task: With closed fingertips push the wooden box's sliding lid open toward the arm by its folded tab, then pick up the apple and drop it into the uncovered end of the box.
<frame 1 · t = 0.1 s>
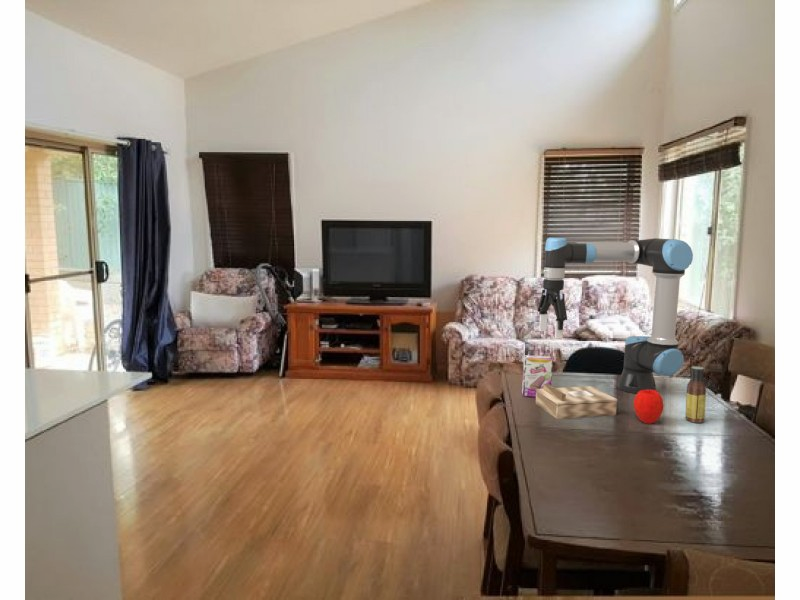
hand: (550, 334, 219), 28 cm above the table, fingers open, 13 cm apart
candy bar box: (536, 396, 234), on the table
sauce bottle: (693, 421, 209), on the table
lid: (575, 391, 218), point 7 cm above the table, slide at 0.0 cm
apple: (647, 422, 207), on the table
wooden box: (574, 409, 219), on the table
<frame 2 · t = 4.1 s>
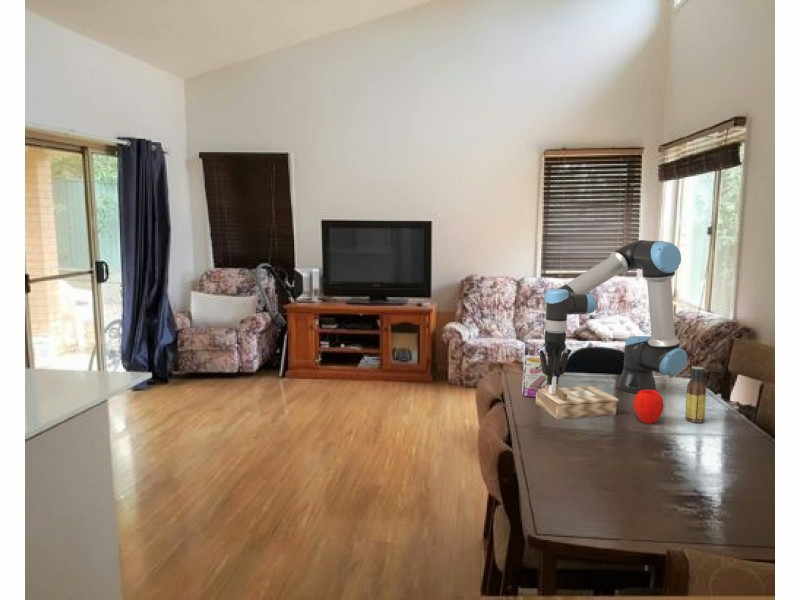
hand: (552, 392, 215), 7 cm above the table, fingers closed
lid: (577, 391, 218), point 7 cm above the table, slide at 0.6 cm, touching gripper
everything else where it was.
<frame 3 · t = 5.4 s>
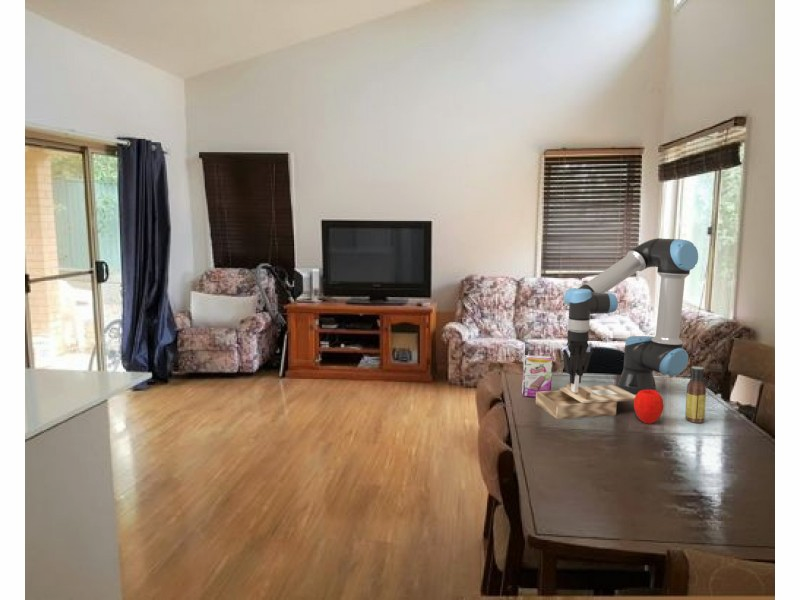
hand: (574, 391, 217), 7 cm above the table, fingers closed
lid: (599, 390, 220), point 7 cm above the table, slide at 10.0 cm, touching gripper
everything else where it was.
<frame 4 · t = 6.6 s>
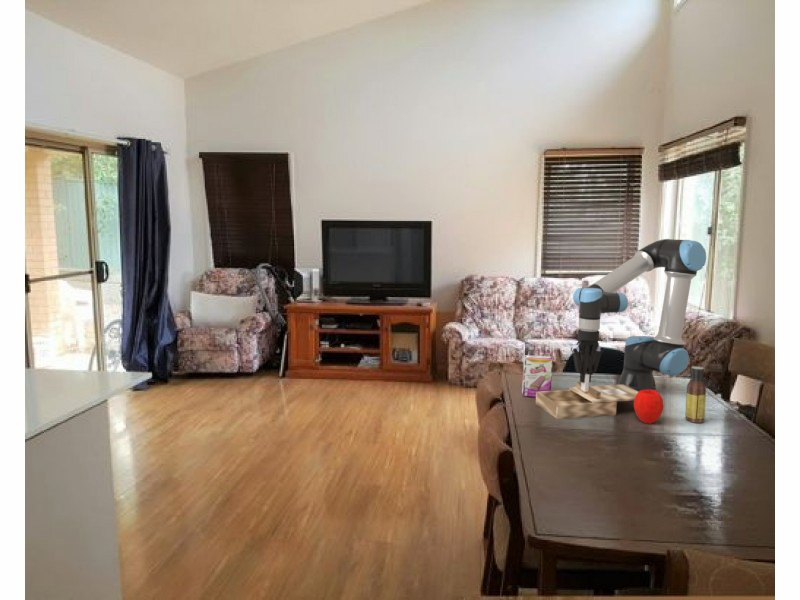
hand: (584, 390, 218), 7 cm above the table, fingers closed
lid: (609, 390, 221), point 7 cm above the table, slide at 14.2 cm, touching gripper
everything else where it was.
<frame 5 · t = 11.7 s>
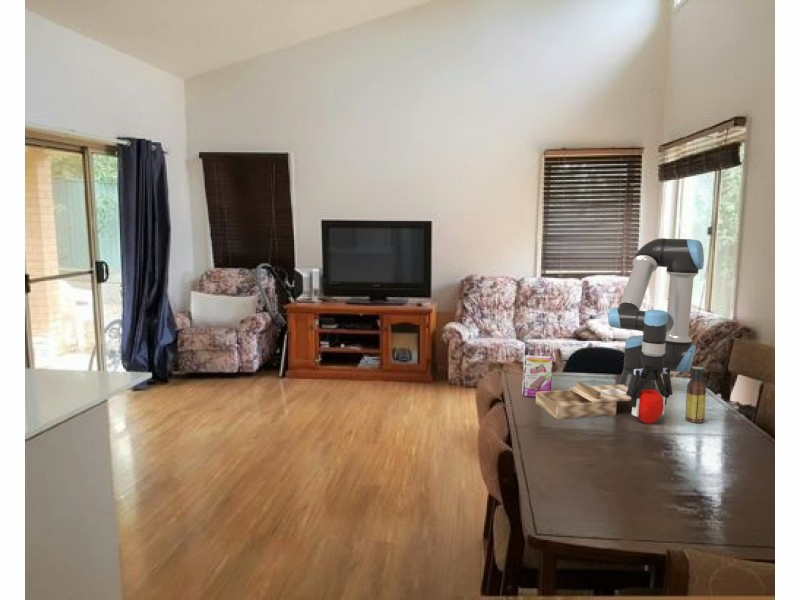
hand: (647, 414, 206), 3 cm above the table, fingers closed on apple, 10 cm apart
lid: (609, 390, 221), point 7 cm above the table, slide at 14.2 cm
apple: (647, 422, 207), on the table, touching gripper
everything else where it was.
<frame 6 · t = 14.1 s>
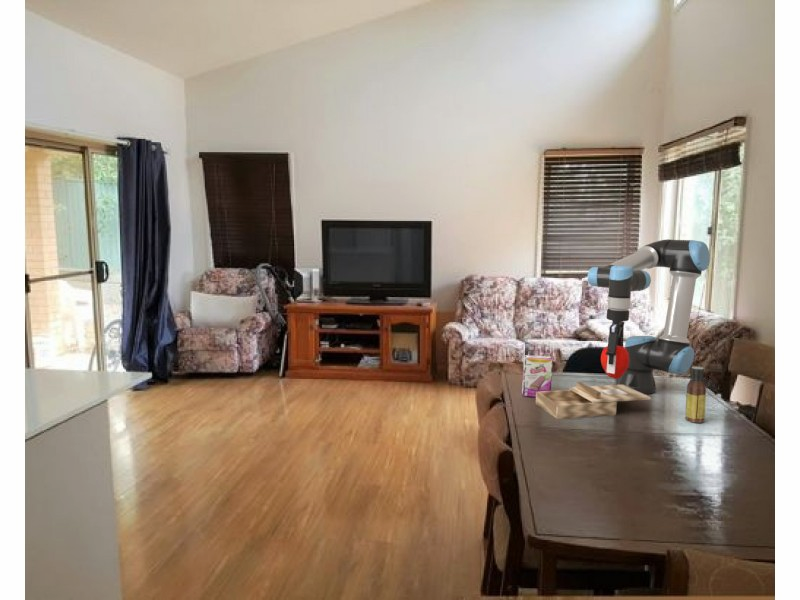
hand: (613, 369, 209), 18 cm above the table, fingers closed on apple, 10 cm apart
apple: (613, 377, 209), point 15 cm above the table, touching gripper
everything else where it was.
when the fingers open (6 cm above the table, at t = 16.8 s): apple drops 3 cm, resting on wooden box.
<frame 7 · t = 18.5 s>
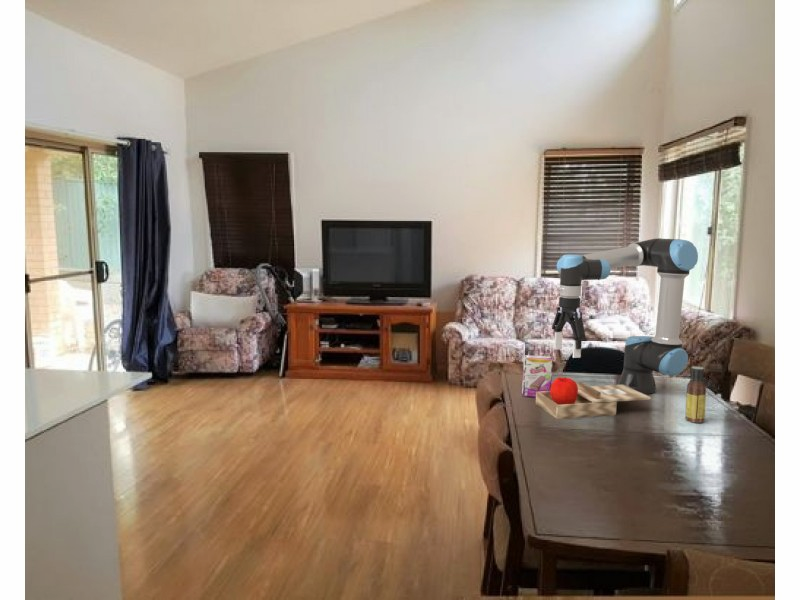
hand: (566, 353, 214), 22 cm above the table, fingers open, 13 cm apart
apple: (563, 408, 217), point 1 cm above the table, touching wooden box
everything else where it was.
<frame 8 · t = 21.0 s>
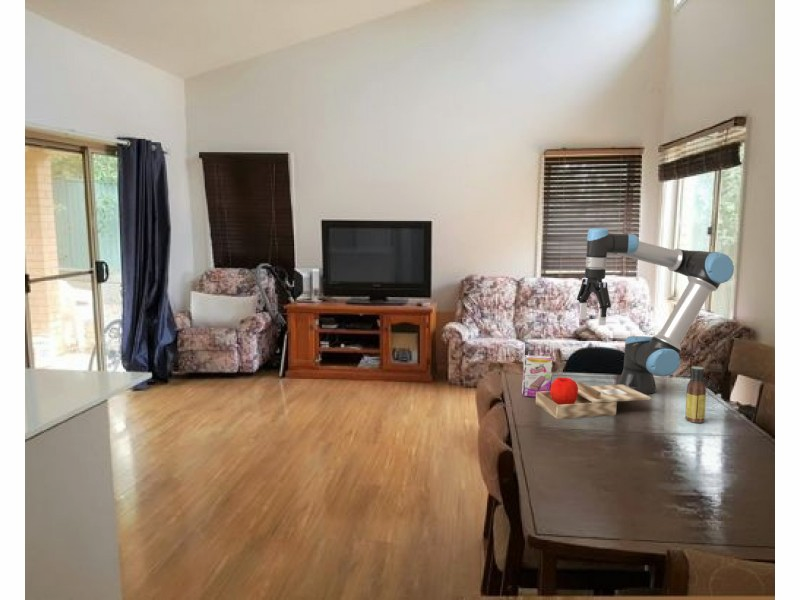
hand: (591, 322, 226), 32 cm above the table, fingers open, 13 cm apart
nothing on the table moved.
at the end: lid slide at 14.2 cm; apple inside the target area on the wooden box (4.0 cm from its centre), point 0.6 cm above the wooden box's base; the gripper is holding nothing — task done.
